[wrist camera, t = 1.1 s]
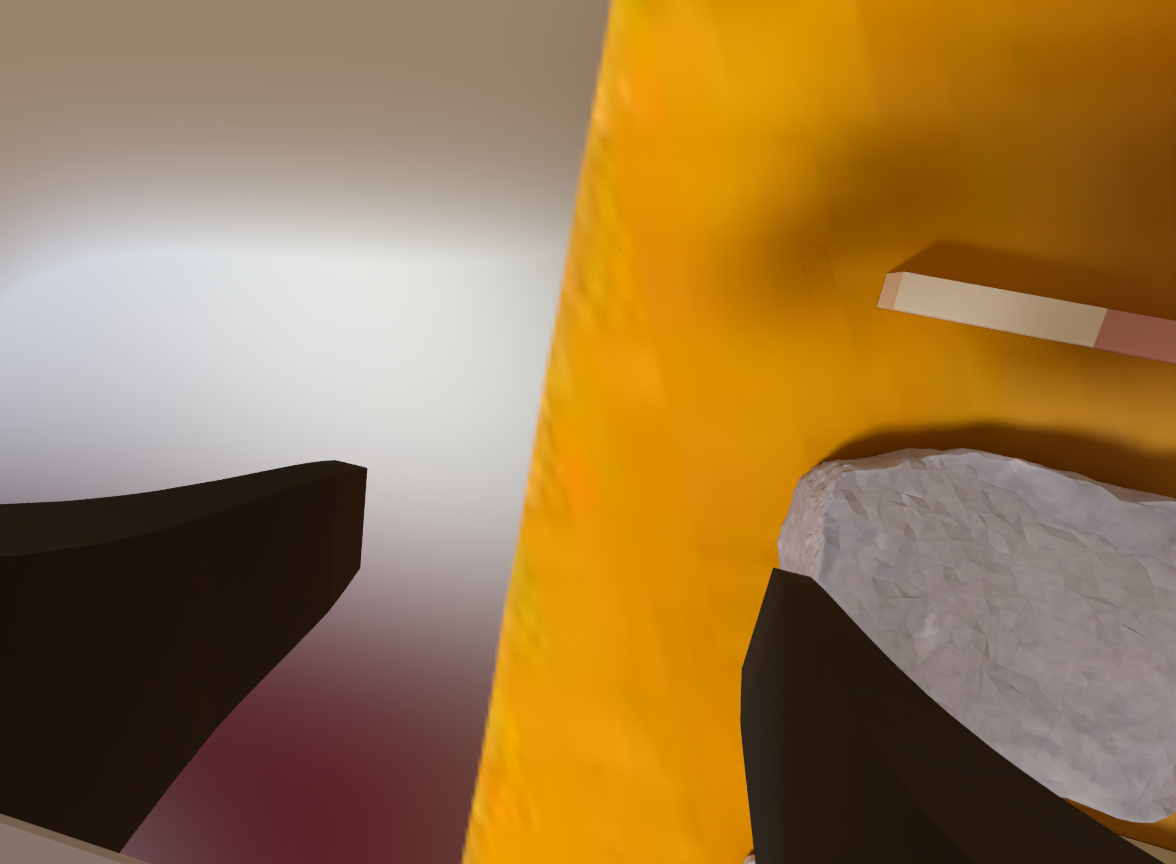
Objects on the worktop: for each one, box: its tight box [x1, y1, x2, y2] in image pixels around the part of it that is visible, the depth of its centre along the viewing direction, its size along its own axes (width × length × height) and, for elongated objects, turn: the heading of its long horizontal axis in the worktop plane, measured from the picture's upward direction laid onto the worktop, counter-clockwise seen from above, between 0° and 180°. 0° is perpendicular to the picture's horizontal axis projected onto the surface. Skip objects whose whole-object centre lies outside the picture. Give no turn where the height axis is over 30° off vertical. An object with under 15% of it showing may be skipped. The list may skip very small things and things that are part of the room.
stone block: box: [777, 448, 1176, 823], centre depth 20 cm, size 12×5×10 cm
